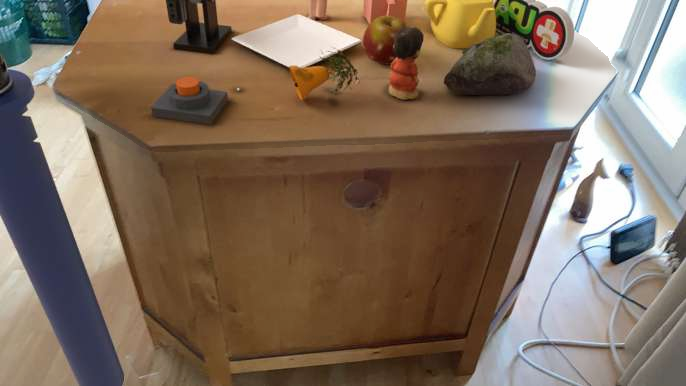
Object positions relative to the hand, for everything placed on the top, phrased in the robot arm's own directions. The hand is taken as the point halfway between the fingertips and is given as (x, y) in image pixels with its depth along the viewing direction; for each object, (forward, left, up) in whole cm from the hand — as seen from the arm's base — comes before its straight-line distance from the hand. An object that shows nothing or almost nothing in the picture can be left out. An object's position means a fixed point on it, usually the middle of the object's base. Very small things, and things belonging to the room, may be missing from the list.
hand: (178, 21), depth 84 cm
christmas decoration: (+16, +7, -15) cm, 24 cm away
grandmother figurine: (+12, +43, -15) cm, 48 cm away
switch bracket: (-8, +25, -15) cm, 31 cm away
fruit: (+29, +27, -15) cm, 43 cm away
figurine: (+34, +14, -15) cm, 40 cm away
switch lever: (-8, +21, -6) cm, 23 cm away
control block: (0, 0, -15) cm, 15 cm away
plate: (+11, +27, -15) cm, 33 cm away
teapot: (+42, +42, -15) cm, 61 cm away
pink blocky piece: (+26, +45, -15) cm, 55 cm away
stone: (+48, +22, -15) cm, 55 cm away
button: (0, 0, -12) cm, 12 cm away
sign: (+57, +42, -15) cm, 72 cm away
